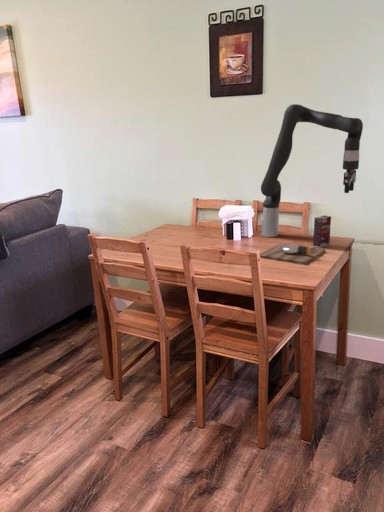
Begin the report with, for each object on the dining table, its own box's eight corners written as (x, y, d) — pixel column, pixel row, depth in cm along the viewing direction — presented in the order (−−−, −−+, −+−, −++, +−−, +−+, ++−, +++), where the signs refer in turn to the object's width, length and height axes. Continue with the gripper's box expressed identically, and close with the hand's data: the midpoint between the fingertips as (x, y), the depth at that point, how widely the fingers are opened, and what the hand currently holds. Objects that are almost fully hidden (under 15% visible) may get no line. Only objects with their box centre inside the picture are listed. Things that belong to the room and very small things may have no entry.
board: (258, 257, 213) (258, 253, 212) (280, 245, 232) (280, 242, 231) (306, 264, 198) (306, 261, 198) (325, 251, 217) (325, 248, 217)
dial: (277, 251, 215) (278, 243, 214) (290, 247, 221) (290, 240, 220) (302, 257, 204) (303, 249, 203) (315, 253, 209) (316, 245, 208)
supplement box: (320, 248, 223) (321, 218, 219) (312, 246, 227) (313, 217, 222) (330, 245, 228) (331, 216, 224) (322, 243, 232) (323, 215, 227)
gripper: (347, 158, 222) (345, 189, 226) (339, 160, 210) (337, 193, 215) (362, 158, 217) (359, 190, 222) (355, 160, 206) (352, 194, 211)
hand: (348, 191), depth 219 cm, fingers open, 8 cm apart
